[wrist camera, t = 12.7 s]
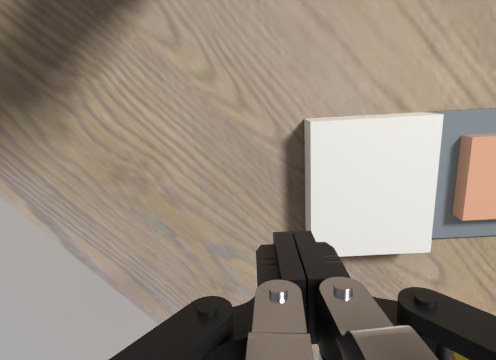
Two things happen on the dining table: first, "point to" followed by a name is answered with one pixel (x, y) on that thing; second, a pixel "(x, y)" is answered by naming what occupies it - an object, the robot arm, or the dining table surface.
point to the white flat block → (372, 181)
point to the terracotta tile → (476, 178)
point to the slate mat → (447, 172)
